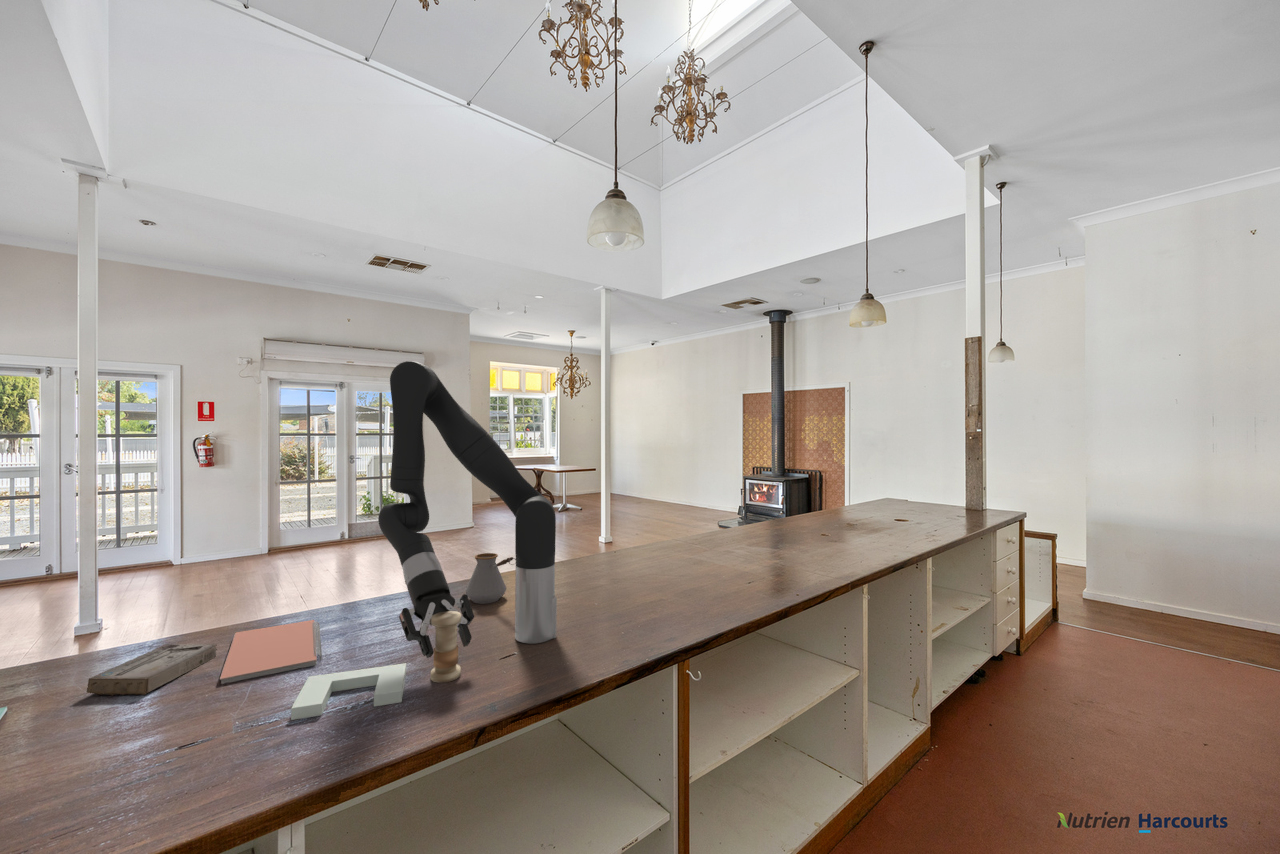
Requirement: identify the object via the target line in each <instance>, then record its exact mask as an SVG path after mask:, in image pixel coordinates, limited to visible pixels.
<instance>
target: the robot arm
mask: <svg viewBox="0 0 1280 854" xmlns="http://www.w3.org/2000/svg"><path fill="white" fill-rule="evenodd" d="M438 376H439V375H437V373H436V372H435V371H434V370H433V369H432V368H431V367H430V366H427V364H426V365H425V364H424V363H421V362H418V361H414V360H406V361H402V362H400V363H398V364H397V365H396V366H395V367H394V368H393V369H392V370H391V373H390V377H389V388H390V397H391V406H392V418H393V419H392V423H393V424H392V425H393V426H392V427H393V431H392V432H393V434H392V435H393V436H392V440H393V441H392V454H391V466H390V478H389V479H390V480H389V481H390V482H389V487H390V490H391V491H392V492H394V493H397V494H405V495H407V496H408V498H409V502H399V503H398V502H397V503H389V504H386V505H384V506H383V507H382V508H381V509H380V511H379V514H378V518H377V520H378V526H379V529H380V531H381V533H382V534H383V535H384V537H385V538H386V539H387V542H389V544H390V545H391V546H392V547H393V549H394V550H395V552H396V554H397V555H398V558H399V562H400V565H401V569H402V573H403V578H404V584H405V585H406V588H407V591H408V594H409V598H410V601H411V604H412V606H413V607H412V608H408V607H404V608H402V610H401V612H400V613H399V616H398V618H399V622H400V624H401V627H402V629H403V630H402V631H403V634H404V635H405V639H406V641H407V642H412V641H416V642H418V644H419V647H420V651H421V655H423V657H424V656H425V658H426V659H429V658H431V657H432V656H434V648H433V645H432V642H431V639H430V636H429V634H427V633H428V630H429V626H433V625H432V624H431V617H432V616H433V615H434V614H437V613H440V612H445V611H457V612H460V613H461V622H460V623H458V624H457V630H458V631H457V632H458V635H459V638H460V641H461V644H462V646H463V647H464V648H465V647H468V646H469V645H470V643H471V640H472V633H471V631H470V628H469V626H470V624H472V622H473V620H474V619H475V615H474V614H475V613H474V612H473V609H472V605H471V603H470V598H469V597H468V596H467V595H466V593H465V594H462V595H461V596H459V597H454V596H453V595H452V594H451V590H450V588H449V584H448V581H447V579H446V576H445V574H444V571H443V568H442V565H441V562H440V561H439V559H438V558H437V555H436V553H435V550H434V547H433V544H432V542H431V539H430V537H429V536H428V535H427V534H425V533H422V532H423V531H424V530H425V529H426V528H427V526H428V524H429V522H430V511H429V507H428V503H427V498H426V494H425V487H424V486H425V485H424V482H425V481H424V480H425V479H424V477H425V466H426V465H425V463H426V457H425V456H426V450H425V442H424V429H423V424H424V423H423V421H424V415H425V416H426V417H427V418H428V419H429V420H430V421H431V422H432V423H433V425H434V426H435V428H436V429H437V431H438V432H439V435H440V437H442V439H443V441H444V442H445V444H446V446H447V447H448V449H449V451H451V453H452V455H453V456H454V458H456V459H457V461H458V462H460V464H461V465H462V466H463V467H464V468H465V469H466V470H467V471H468V472H469V473H470V474H471V475H472V476H473V477H474V478H475V479H476V480H478V481H479V482H480V483H481V484H482V485H484V486H485V487H487V488H488V489H490V490H491V491H492V492H494V493H495V494H496V495H497V496H498V497H499V498H500V499H501V500H502V501H503V502H504V504H505V505H506V506H507V507H508V509H509V510H510V511H511V513H512V514H513V516H514V517H515V530H514V531H515V532H514V533H515V535H514V537H515V544H514V545H515V547H514V549H515V550H514V551H515V555H514V556H515V559H516V560H515V600H514V603H515V604H514V605H515V607H514V608H515V610H514V612H515V613H514V616H515V617H514V618H515V619H514V621H515V623H514V625H515V626H514V634H515V635H514V639H515V640H516V641H517V642H520V643H522V644H541V643H545V642H548V641H550V640H552V639H556V638H557V607H558V606H557V602H558V601H557V597H556V595H555V593H556V591H555V589H556V588H555V586H556V583H555V578H556V577H555V576H556V573H555V572H556V570H555V569H556V568H555V567H556V564H555V563H556V535H557V533H556V528H557V527H556V526H557V525H556V524H557V521H556V519H557V518H556V511H555V508H554V505H553V504H552V502H551V501H550V500H548V498H547V497H545V496H544V495H542V493H540V492H539V491H538V490H537V489H535V487H534V486H532V485H531V484H530V483H529V481H527V479H525V478H524V476H522V474H521V472H519V471H518V469H517V468H516V466H515V465H514V463H513V461H512V460H511V459H510V457H509V456H508V455H507V454H506V453H505V451H504V450H503V449H502V448H501V446H500V445H499V444H498V442H497V441H496V440H494V438H493V437H492V436H491V435H490V434H489V433H488V432H487V430H486V429H485V428H484V427H483V426H482V425H481V424H480V423H478V421H477V420H476V419H475V418H473V416H471V415H470V413H468V412H467V411H466V410H465V409H464V408H463V407H462V406H460V405H459V403H458V401H456V400H455V399H454V397H453V395H451V393H450V392H449V391H448V389H447V388H446V387H445V385H444V384H443V382H442V380H441V379H440V378H439V377H438ZM455 605H456V606H457V609H456V607H455ZM458 609H460V611H459V610H458ZM414 616H415V617H416V618H418V619H420V620H421V622H420V625H419V628H418V630H417V629H416V626H415V623H414V621H413V618H414Z"/></svg>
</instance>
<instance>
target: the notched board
mask: <svg viewBox="0 0 1280 854" xmlns="http://www.w3.org/2000/svg"><path fill="white" fill-rule="evenodd" d="M406 676H407V663H406V662H405V663H399V664H390V665H384V666H376V667H368V668H362V669H354V670H348V671H347V670H346V671H342V672H341V671H340V672H334V673H326V674H318V675H312V676H311V675H310V676H308V677H307V679H306V680H305V683H304V684H303V687H302V688H301V690H300V692H299V694H298V695H297V697H296V699H295V700H294V702H293V704H292V707H291V709H290V712H291V713H290V717H291V718H290V720H291V721H294V720H300V719H306V718H312V717H320V716H323V713H324V711H325V708H326V707H327V704H328V701H329V699H330V697H331V694H332V692H340V691H348V690H353V689H360V688H366V687H375V690H374V693H373V707H375V708H376V707H381V706H385V705H391V704H392V705H393V704H398V703H399V704H400V703H402V701H403V696H404V690H405V683H406Z"/></svg>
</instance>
